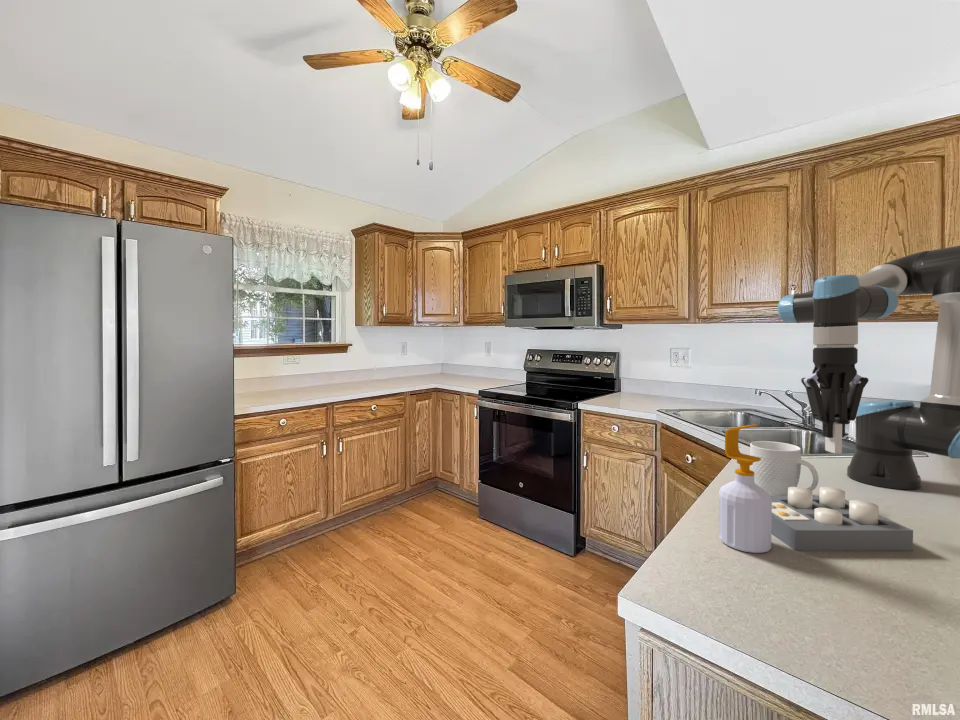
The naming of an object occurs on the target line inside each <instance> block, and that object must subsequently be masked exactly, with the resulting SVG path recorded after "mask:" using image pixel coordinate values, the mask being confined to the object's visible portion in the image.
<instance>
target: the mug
mask: <svg viewBox="0 0 960 720" xmlns="http://www.w3.org/2000/svg"><path fill="white" fill-rule="evenodd" d="M749 448H750V449H749V455H750V456H755V457H759V458H761V461H757V462H753V465H750V470H751V471H754V482H755V484H756V485H758V486H760V487H761V488H763V489H764V490H765V491H766V492H767V493H768V494H769V495H770V496H788V487H798V485H799V481H800V477H801V467H802V465H803V466H805V467H807V468H808V469H809V470H810V473H811V475H812V483H811V485H810V486H809V487H806V489H808V490H811V491H812V492H813V491H815V489H816V488H817V486H818V484H819V474H818V471H817V469H816V467H815V466H814V465H813V464H811V463H810V462H809V461H807V460H803V459H802V452H801V451H802V449H801V447H800V446H797V445H795V444H791V443H786V442H780V441H779V442H778V441H772V440H771V441H770V440H769V441H768V440H756V441H752V442H750V444H749Z"/></svg>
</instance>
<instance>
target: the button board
mask: <svg viewBox="0 0 960 720" xmlns="http://www.w3.org/2000/svg"><path fill="white" fill-rule="evenodd" d="M770 497H771V500H772V529H771V535H773V536H774V537H776V538H777V539H778V540H780V541H781V542H783V543H784V544H785V545H787V546H789V547H790V548H791V549H793V550H794V551H857V552H858V551H863V552H865V551H870V552H871V551H874V552H875V551H876V552H877V551H879V552H880V551H887V552H889V551H890V552H891V551H892V552H893V551H896V552H897V551H898V552H899V551H901V552H902V551H907V552H908V551H909V552H911V551H912V552H913V551H914V549H913V548H914V529H911V528H908V527H906V526H905V525H903V524H900V523H898V522H895V521H893V520H891V519H889V518H887V517H884V516H882V515H880V514H878V525H860V524H858V523H856V522H854V521H852V520H850V519H849V501H850V500H847V499H845V509H832V510H836V511H838V512H840V513H842V525H824V524H822V523H820V522H818V521H817V520H815V519H814V509H815V508H826V507H824V506H822V505H820V504H819V495H813V496H812V509H795V508H793V507H792V506H790V505H788V496H770Z"/></svg>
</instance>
